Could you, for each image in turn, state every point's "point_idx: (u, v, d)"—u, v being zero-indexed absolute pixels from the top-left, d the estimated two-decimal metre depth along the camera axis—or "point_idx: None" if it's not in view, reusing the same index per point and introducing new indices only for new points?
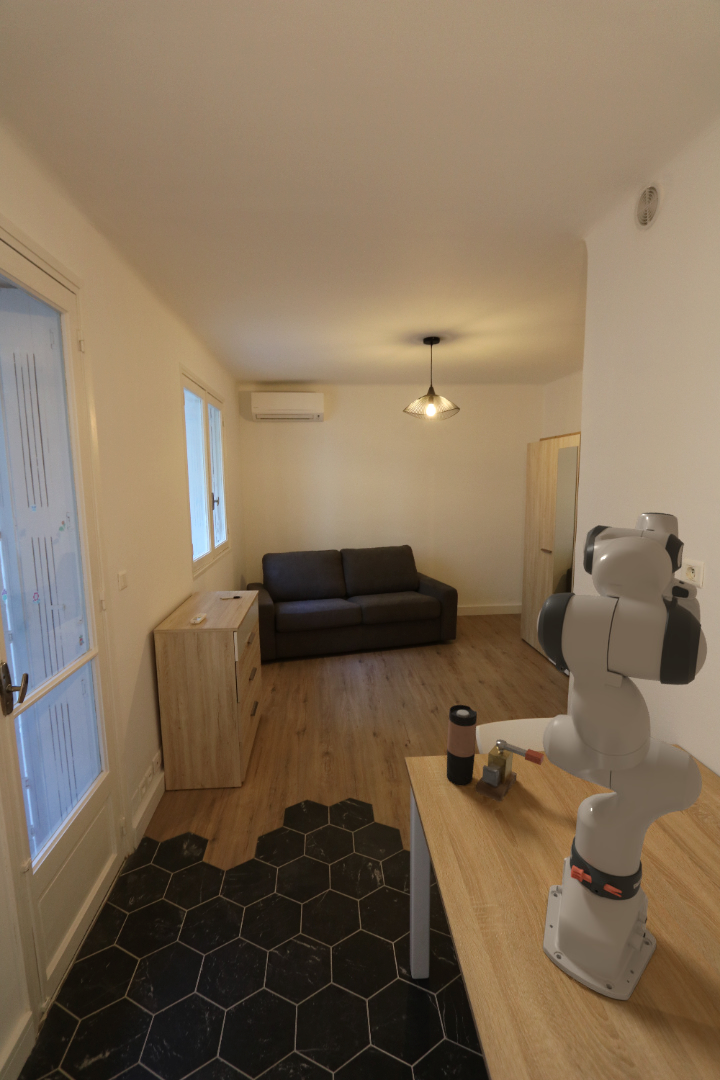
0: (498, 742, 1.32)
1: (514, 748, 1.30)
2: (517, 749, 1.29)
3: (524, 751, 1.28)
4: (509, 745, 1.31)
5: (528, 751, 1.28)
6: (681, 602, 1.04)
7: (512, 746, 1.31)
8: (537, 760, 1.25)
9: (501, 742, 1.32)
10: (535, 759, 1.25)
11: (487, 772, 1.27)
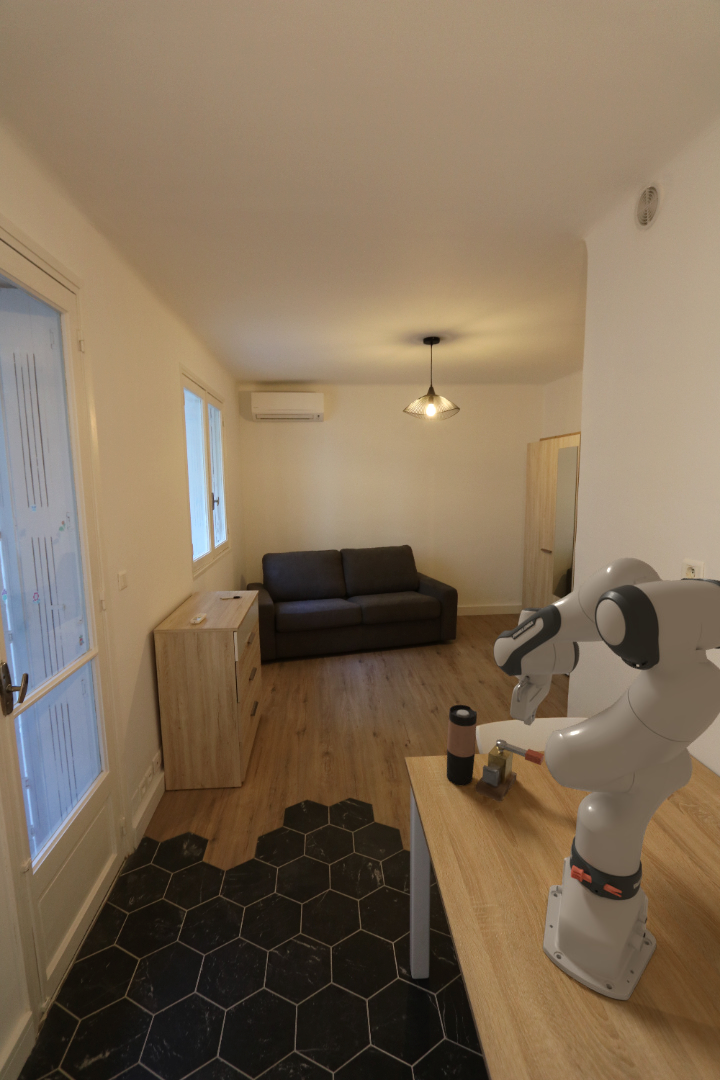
0: (498, 742, 1.32)
1: (514, 748, 1.30)
2: (517, 749, 1.29)
3: (524, 751, 1.28)
4: (509, 745, 1.31)
5: (528, 751, 1.28)
6: None
7: (512, 746, 1.31)
8: (537, 760, 1.25)
9: (501, 742, 1.32)
10: (535, 759, 1.25)
11: (487, 772, 1.27)
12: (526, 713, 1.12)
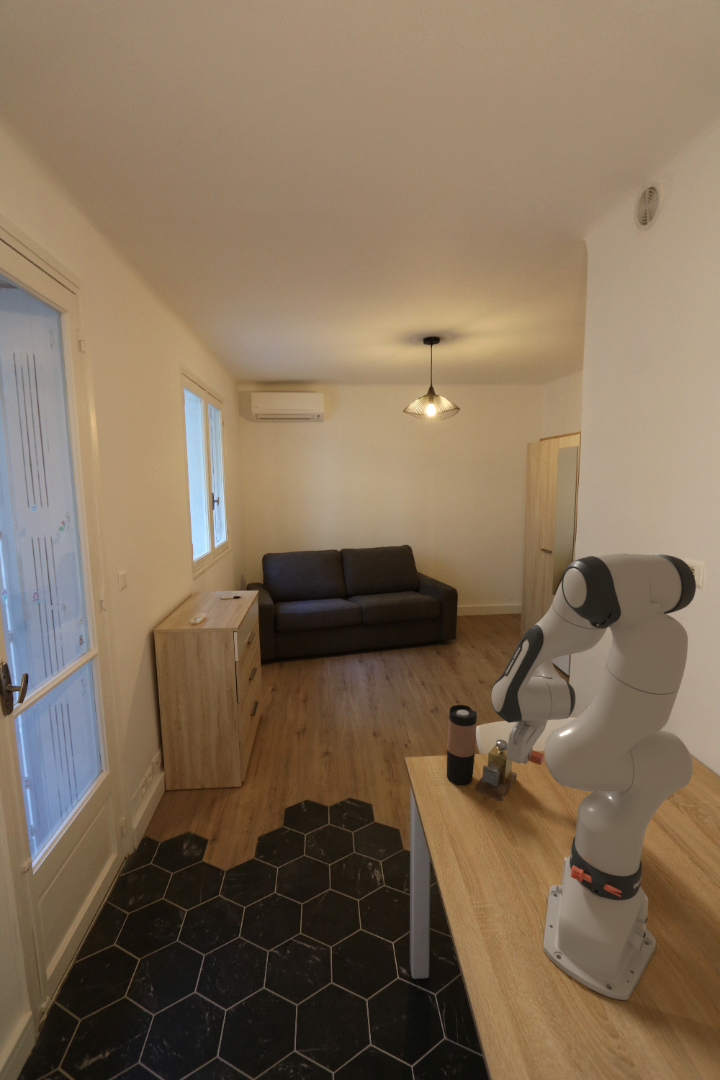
0: (498, 742, 1.32)
1: None
2: None
3: None
4: None
5: None
6: None
7: None
8: (537, 760, 1.25)
9: (501, 742, 1.32)
10: (535, 759, 1.25)
11: (487, 772, 1.27)
12: (522, 755, 1.14)
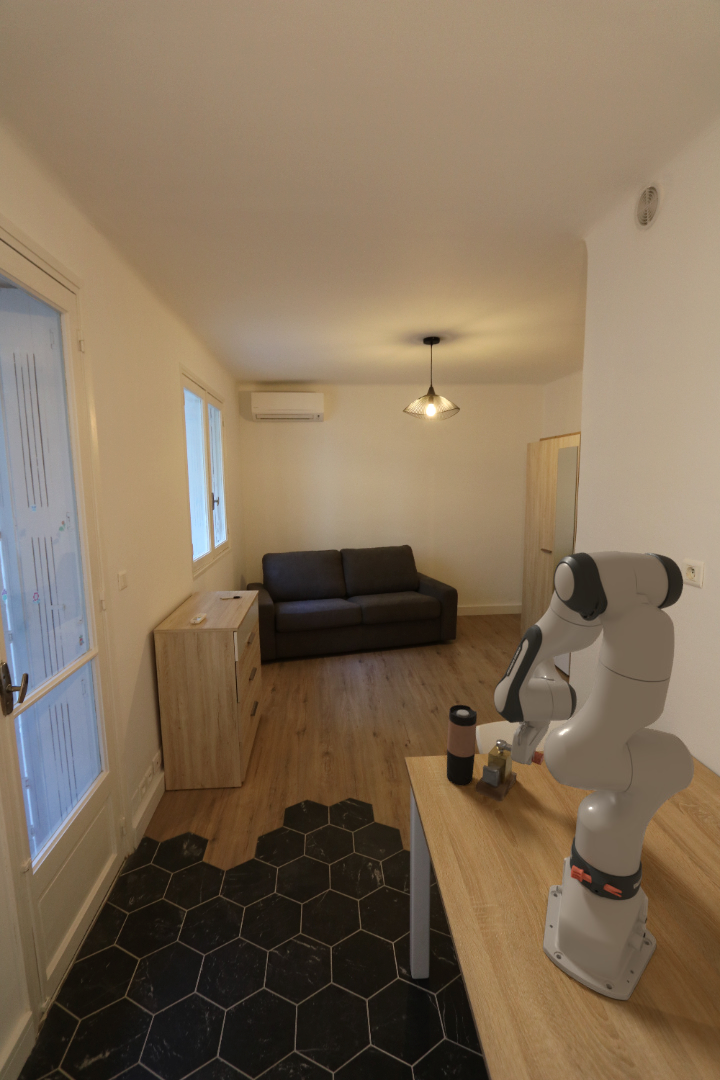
0: (498, 742, 1.32)
1: None
2: None
3: None
4: (509, 745, 1.31)
5: None
6: None
7: None
8: (537, 760, 1.25)
9: (501, 742, 1.32)
10: (535, 759, 1.25)
11: (487, 772, 1.27)
12: (526, 756, 1.16)
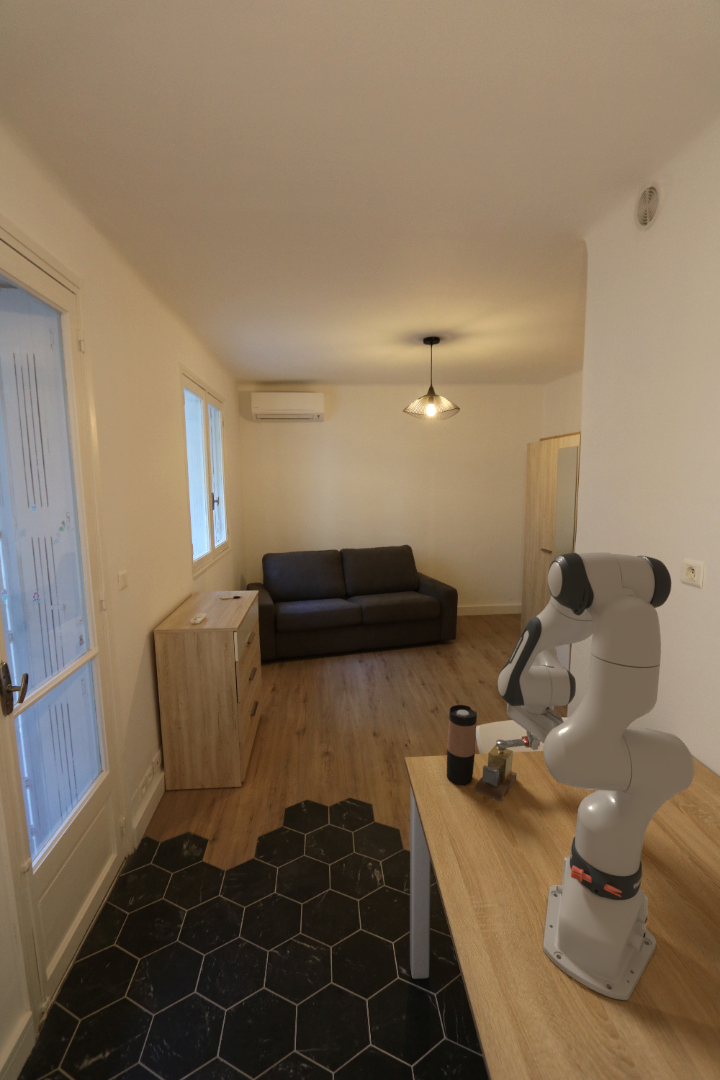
0: (500, 743, 1.31)
1: (514, 742, 1.33)
2: (517, 741, 1.33)
3: (522, 740, 1.33)
4: (508, 741, 1.33)
5: (525, 739, 1.34)
6: None
7: (510, 741, 1.33)
8: None
9: (501, 742, 1.32)
10: None
11: (487, 772, 1.27)
12: None
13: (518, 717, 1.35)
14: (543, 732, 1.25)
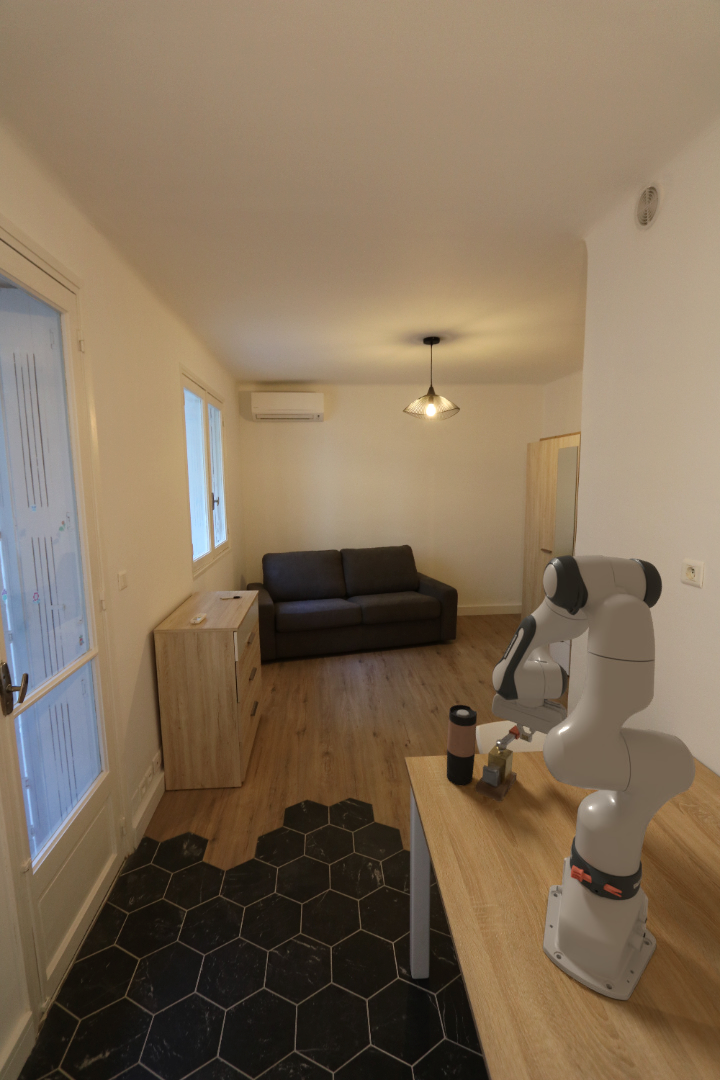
0: (502, 744, 1.31)
1: (508, 738, 1.35)
2: (510, 737, 1.35)
3: (512, 734, 1.37)
4: (504, 739, 1.34)
5: (513, 731, 1.37)
6: None
7: (505, 738, 1.34)
8: None
9: (501, 742, 1.32)
10: None
11: (487, 772, 1.27)
12: None
13: (509, 714, 1.37)
14: (544, 723, 1.30)
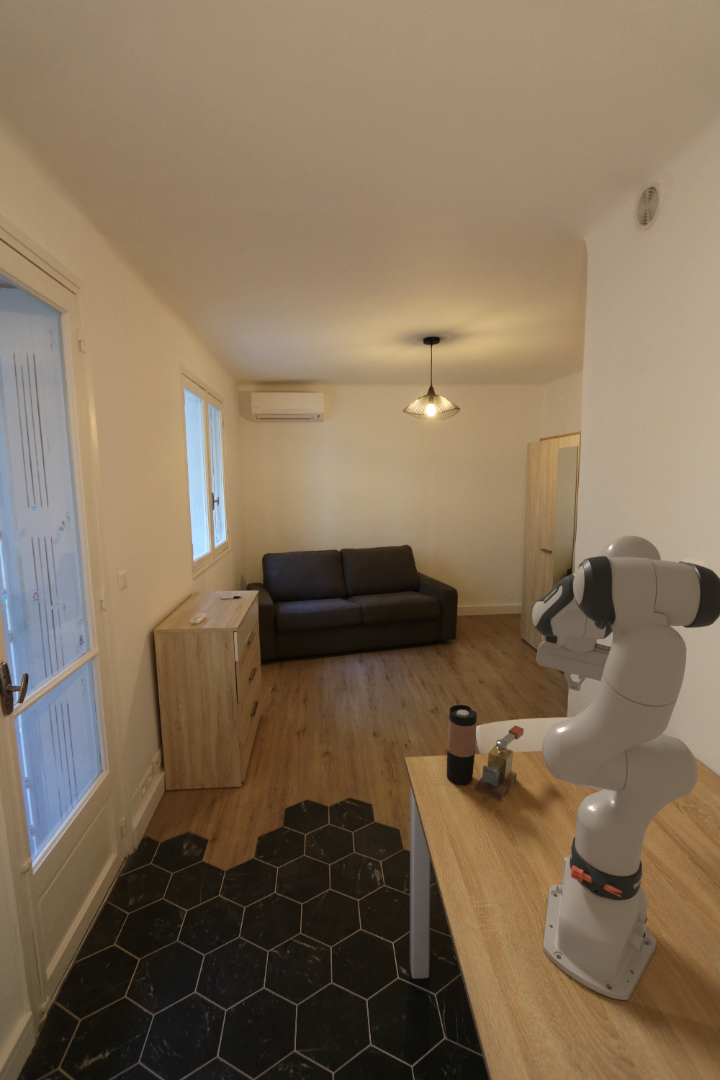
0: (502, 744, 1.31)
1: (508, 738, 1.35)
2: (510, 737, 1.35)
3: (512, 734, 1.37)
4: (504, 739, 1.34)
5: (513, 731, 1.37)
6: None
7: (505, 738, 1.34)
8: (522, 732, 1.39)
9: (501, 742, 1.32)
10: (521, 732, 1.38)
11: (487, 772, 1.27)
12: None
13: (555, 662, 1.29)
14: (596, 669, 1.23)
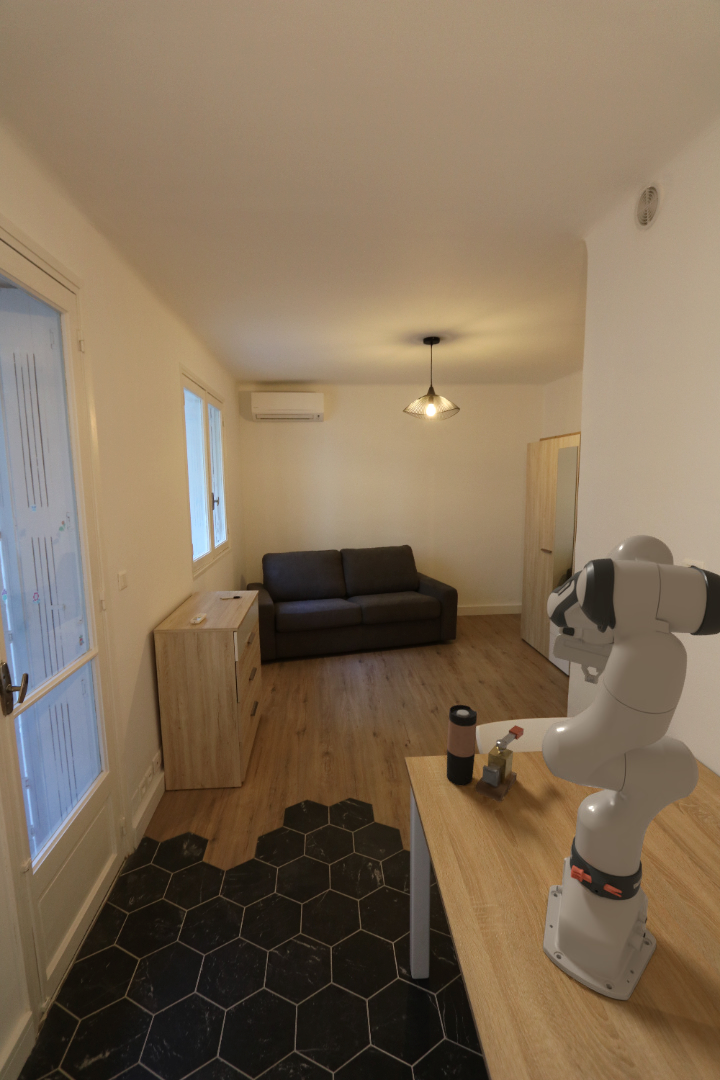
0: (502, 744, 1.31)
1: (508, 738, 1.35)
2: (510, 737, 1.35)
3: (512, 734, 1.37)
4: (504, 739, 1.34)
5: (513, 731, 1.37)
6: None
7: (505, 738, 1.34)
8: (522, 732, 1.39)
9: (501, 742, 1.32)
10: (521, 732, 1.38)
11: (487, 772, 1.27)
12: None
13: (572, 654, 1.28)
14: None
